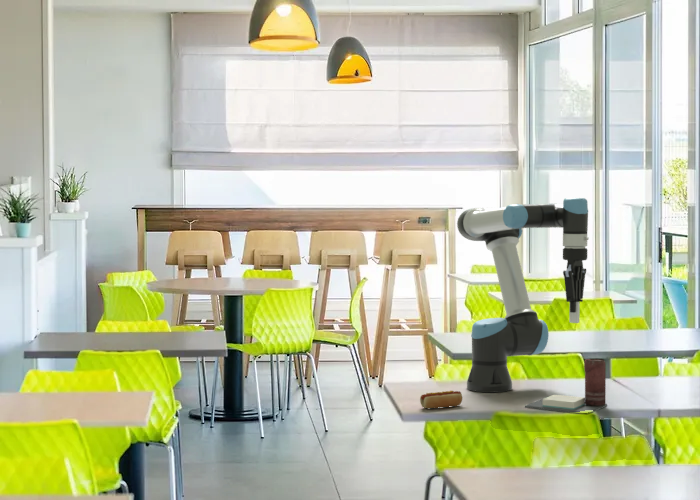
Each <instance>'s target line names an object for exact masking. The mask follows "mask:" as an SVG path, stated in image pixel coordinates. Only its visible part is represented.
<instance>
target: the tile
mask: <svg viewBox="0 0 700 500" xmlns="http://www.w3.org/2000/svg"><path fill="white" fill-rule="evenodd" d="M542 399H543V406H544V407H553V408H563V409H573V410H574V409H576V408H579V407H581V406H583V405H585V396H573V395H572V396H571V395H563V394H552V395H550V396H548V397H547V398H546V397H544V398H542Z"/></svg>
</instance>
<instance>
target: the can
mask: <svg viewBox="0 0 700 500" xmlns="http://www.w3.org/2000/svg"><path fill="white" fill-rule="evenodd" d="M583 368H584V398H585V404H586V405H587V406H592V407H601V406H604V405H605V403H606V393H607V391H606V390H607V389H606V387H607V386H606V385H607V384H606V380H607V379H606V375H607V374H606V373H607V372H606V361H605V359H604V358H586V359H584V364H583Z"/></svg>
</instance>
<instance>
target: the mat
mask: <svg viewBox="0 0 700 500" xmlns="http://www.w3.org/2000/svg"><path fill="white" fill-rule="evenodd" d="M545 398H547V397H545ZM543 399H544V398H541V399H538V400H536V401H533V402H531V403H528V404H525V405H524V408H525V409H526V408H527V409H534V410H542V411H543V410H545V411H554V412H563V413H570V412H580V411H585V410H593V411H594V412H596V411H598V410H600V409H602V407H603V408H604V406H605V407H607V406H608V403H606V402H605V405H604V406H601V407H592V406H587V405H586V404H585V405H583V406H581V407H579V408H576V409H574V410H573V409H563V408H553V407H544V406H543Z"/></svg>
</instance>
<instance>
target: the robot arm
mask: <svg viewBox="0 0 700 500" xmlns="http://www.w3.org/2000/svg"><path fill="white" fill-rule="evenodd" d="M588 221H589V208H588V199H586V198H585V197H579V198H578V197H566V198H564V199H563V203H540V204H539V203H535V204H529V203H528V204H527V203H525V204H523V203H522V204H519V203H515V204H509V205H506V206H503V207H502V206H501V207H500V206H499V207H474V208H473V207H472V208H469V209H466V210H464V211H462V212H461V214H460V215H459V216H458V218H457V223H456V224H457V225H456V226H457V230H458V233H459V234H460V235H461V236H462V237H463V238H465V239H467V240H469V241H473V242H485V246H486V249H487V250H489V251H490V252H491V254H492V257H493V261H494V266H495V269H496V274H497V275H496V276H497V279H498V283H499V287H500V291H501V295H502V299H503V301H502V302H503V304H504V305H503V306H504V309H505V313H506V315H505V316H504V317H490V318H483V319H480V320H479V319H478V320H477V321H475V322H474V323H473V324H472V327H471V368H470V370H469V375H468V378H467V380H466V389H467V390H468V391H469V390H470V391H474V392H477V393H478V392H479V393H500V392H501V393H502V392H508V391H511V390H513V381H512V378H511V375H510V372H509V368H508V357H518V356H521V357H522V356H533V355H538V354H541V353H542V352H544V350H545V349H546V348H547V345H548V341H549V328H548V324H547V323H546V321H544V320H542V319H539V317H538V314H537V313H538V312H537V311H535V310H533V309H532V307H531V304H530V299H529V294H528V290H527V287H526V282H525V277H524V274H523V270H522V266H521V261H520V258H519V257H520V256H519V254H518V253H519V252H518V249H517V245H518V244H519V242H520V238H521V237H522V234H523V229H531V228H532V229H537V228H539V229H540V228H541V229H545V228H555V229H556V228H561V229H562V246H563V247H564V248H562V259H563V260H564V261H566V270H563V271H562V274H563V278H564V288H565V290H564V291H565V299H566V302H568V303H569V319H568V320H569V323H571V324H579V323H580V305H581V304H580V302H583V301H584V300H583V299H584V288H585V281H586V274H587V268H584V262H583V261H587V260H588V248H586V247H587V246H588V240H589V237H588V227H589V226H588V225H589V223H588Z"/></svg>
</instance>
